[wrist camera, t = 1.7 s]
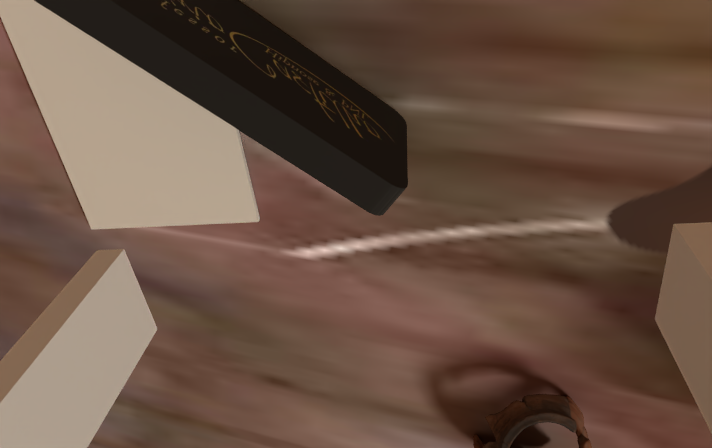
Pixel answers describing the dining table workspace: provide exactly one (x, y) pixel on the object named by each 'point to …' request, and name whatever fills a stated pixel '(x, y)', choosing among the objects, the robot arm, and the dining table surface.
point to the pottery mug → (534, 419)
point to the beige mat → (128, 131)
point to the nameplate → (259, 87)
